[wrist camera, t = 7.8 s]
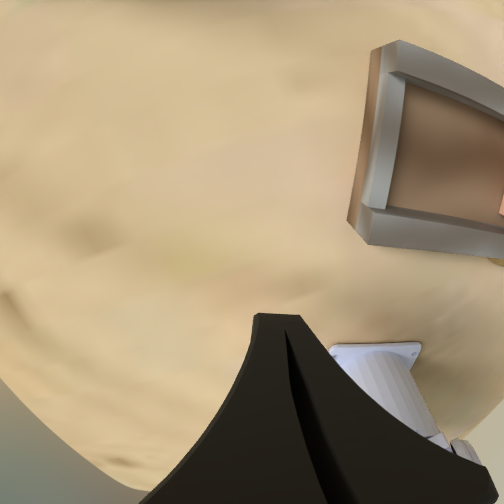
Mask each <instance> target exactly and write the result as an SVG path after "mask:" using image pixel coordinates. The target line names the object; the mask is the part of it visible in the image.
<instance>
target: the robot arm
mask: <svg viewBox="0 0 504 504" xmlns="http://www.w3.org/2000/svg"><path fill="white" fill-rule="evenodd" d="M421 348H422V345H421V344H420V343H419V342H406V343H383V344H337V345H333V346H332V347H331V348H330V349H329V352H328V351H327V350H326V349H325V347H324V346H323V345H322V344H321V342H320V341H319V340H318V338H317V337H316V336H315V334H314V333H313V332H312V330H311V329H310V328H309V327H308V325H307V324H306V323H305V321H304V320H303V319H302V317H301V316H300V315H289V314H269V313H257V314H256V315H254V318H253V326H252V334H251V342H250V345H249V348H248V351H247V354H246V357H245V359H244V362H243V364H242V367H241V369H240V371H239V373H238V375H237V377H236V380H235V382H234V384H233V386H232V388H231V390H230V391H229V393H228V395H227V397H226V399H225V400H224V402H223V404H222V405H221V407H220V409H219V410H218V412H217V414H216V415H215V417H214V418H213V420H212V421H211V423H210V424H209V425H208V427H207V428H206V430H205V431H204V433H203V434H202V435H201V437H200V438H199V439H198V441H197V442H196V443H195V445H194V446H193V447H192V448H191V449H190V451H189V452H188V453H187V454H186V455H185V456H184V458H183V459H182V460H181V461H180V462H179V464H178V465H177V466H176V467H175V468H174V469H173V470H172V471H171V472H170V474H169V475H168V476H167V477H166V478H165V479H164V480H163V481H162V482H160V483H159V484H158V485H157V486H156V487H155V488H154V489H153V490H152V491H151V492H150V493H149V494H148V495H147V496H146V497H145V498H144V499H143V500H142V501H140V503H139V504H494V503H495V502H496V501H497V499H498V497H499V495H498V492H497V490H496V488H495V485H494V483H493V481H492V479H491V476H490V474H489V472H488V470H487V468H486V467H485V466H482V464H481V462H480V460H479V458H478V456H477V454H476V452H475V450H474V449H473V447H472V446H471V445H470V443H469V442H468V441H466V440H460V439H459V438H455V439H454V440H452V441H450V445H451V448H450V446H449V444H448V442H447V439H446V437H445V435H444V433H443V432H441V433H440V431H439V429H438V427H437V425H436V422H435V420H434V418H433V416H432V414H431V412H430V410H429V408H428V406H427V404H426V402H425V400H424V398H423V396H422V394H421V392H420V390H419V388H418V387H417V385H416V383H415V381H414V379H413V377H412V375H411V373H410V370H411V368H412V366H413V364H414V362H415V360H416V358H417V356H418V354H419V352H420V350H421ZM334 355H336V356H334ZM333 356H334V357H333ZM451 449H452V450H451ZM452 451H453V452H452Z"/></svg>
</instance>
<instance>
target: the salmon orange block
mask: <svg viewBox="0 0 504 504" xmlns="http://www.w3.org/2000/svg"><path fill="white" fill-rule="evenodd" d="M499 213H500V214H502V215H504V195H503V199H502V203H501V207H500V211H499Z"/></svg>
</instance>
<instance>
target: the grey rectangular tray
mask: <svg viewBox="0 0 504 504" xmlns="http://www.w3.org/2000/svg"><path fill="white" fill-rule="evenodd" d="M503 195H504V88H503V87H502V86H500V85H498V84H496V83H495V82H493V81H491V80H489V79H487V78H486V77H484V76H482V75H480V74H478V73H476V72H474V71H472V70H470V69H468V68H466V67H464V66H462V65H460V64H458V63H456V62H454V61H452V60H449V59H447V58H445V57H443V56H440V55H438V54H436V53H433V52H431V51H428V50H426V49H423V48H421V47H418V46H416V45H413V44H410V43H407V42H405V41H402V40H397V41H395V42H392V43H389V44H387V45H384V46H382V47H379V48H377V49H374V50H372V51H371V57H370V68H369V78H368V88H367V97H366V105H365V113H364V121H363V128H362V135H361V142H360V149H359V155H358V161H357V167H356V173H355V179H354V185H353V190H352V196H351V201H350V206H349V211H348V216H347V221H348V223H349V224H350V225H351V226H352V227H353V228H354V229H355V230H356V232H357V233H358V234H359V235H360V236H361V237H362V238H363V240H364V241H365V242H366V243H367V244H368V245H376V246H386V247H396V248H406V249H416V250H426V251H435V252H444V253H454V254H463V255H472V256H481V257H488V259H489V260H490V261H492V262H493V263H495V264H497V265H500V266H503V267H504V215H502V214H500V213H499V211H500V207H501V203H502V199H503Z"/></svg>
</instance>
